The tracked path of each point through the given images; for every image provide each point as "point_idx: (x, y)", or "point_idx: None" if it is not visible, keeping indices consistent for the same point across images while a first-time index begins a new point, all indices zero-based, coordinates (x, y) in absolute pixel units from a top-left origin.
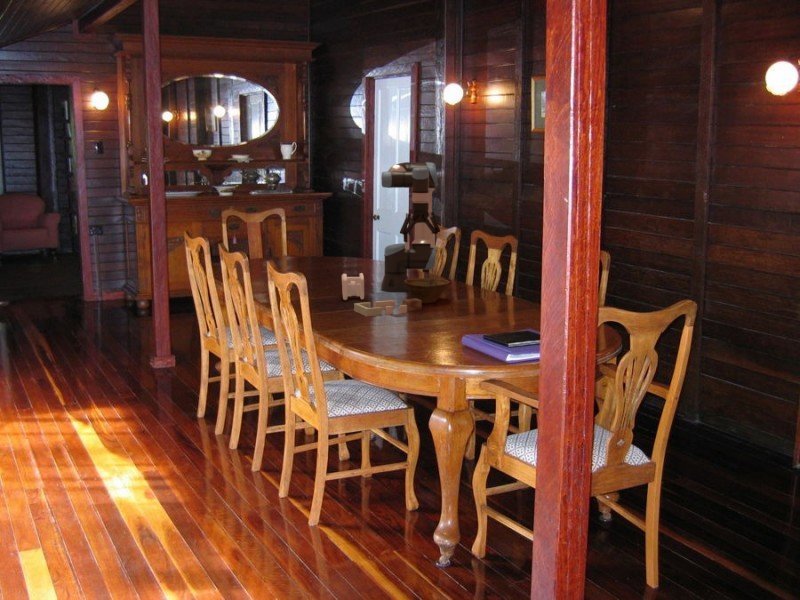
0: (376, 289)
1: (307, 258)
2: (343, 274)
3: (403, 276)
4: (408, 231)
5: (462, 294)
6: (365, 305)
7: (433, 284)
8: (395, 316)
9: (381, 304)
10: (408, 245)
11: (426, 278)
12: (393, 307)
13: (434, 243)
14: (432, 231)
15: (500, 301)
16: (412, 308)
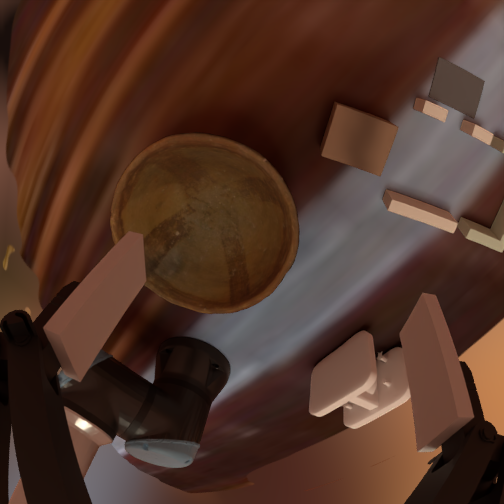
0: (233, 384)
1: (190, 491)
2: (366, 423)
3: (175, 372)
4: (472, 465)
5: (75, 219)
6: (480, 230)
7: (149, 252)
8: (480, 86)
9: (435, 211)
10: (441, 323)
11: (153, 291)
12: (391, 191)
13: (111, 257)
14: (51, 385)
15: (41, 79)
16: (372, 115)
